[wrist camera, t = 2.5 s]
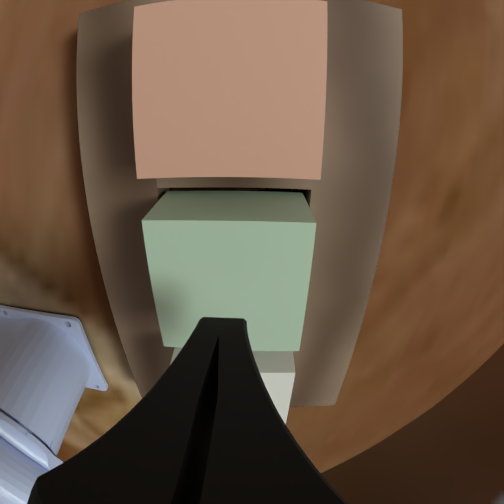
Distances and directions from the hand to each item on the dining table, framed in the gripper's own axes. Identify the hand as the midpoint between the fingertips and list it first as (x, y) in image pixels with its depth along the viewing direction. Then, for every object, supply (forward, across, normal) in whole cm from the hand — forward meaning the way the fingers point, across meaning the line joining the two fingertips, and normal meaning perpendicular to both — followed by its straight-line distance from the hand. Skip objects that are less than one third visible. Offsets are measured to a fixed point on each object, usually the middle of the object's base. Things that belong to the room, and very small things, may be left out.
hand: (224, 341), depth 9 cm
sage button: (+6, 0, 0) cm, 6 cm away
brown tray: (+8, 0, 0) cm, 8 cm away
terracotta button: (+6, 0, -7) cm, 10 cm away
